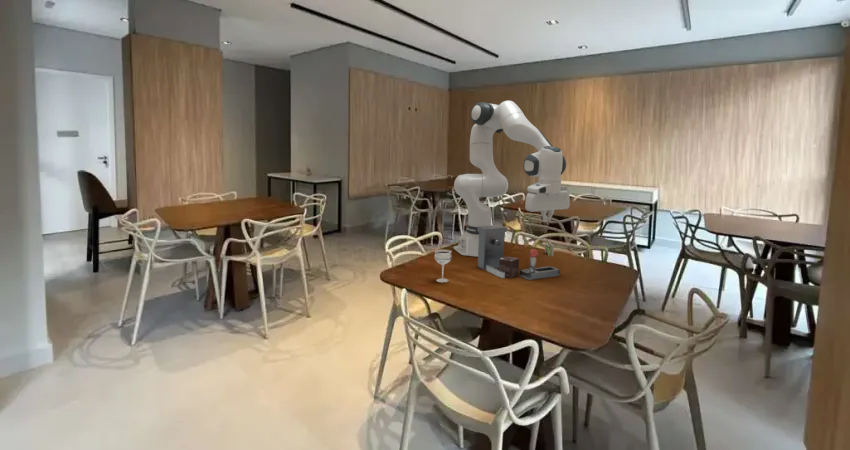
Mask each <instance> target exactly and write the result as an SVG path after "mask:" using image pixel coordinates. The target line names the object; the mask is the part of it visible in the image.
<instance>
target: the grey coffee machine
mask: <svg viewBox="0 0 850 450" xmlns="http://www.w3.org/2000/svg"><path fill="white" fill-rule="evenodd" d="M507 229H508V227H506V226H503V225H499V224H496V225H491V226H481V227H478V230H477V231H478V232H479V246H478V257H477V267H478V268H479V269H481V270H485V271H486V272H487V273H490V274H493V275H494V276H496V277H499V278H501V279H505V278H506V277H505V272H503V271H501V270H499V259H500V258H503V257H505V256H504V255H505V235H506V233H507V231H508V230H507Z"/></svg>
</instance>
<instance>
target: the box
mask: <svg viewBox="0 0 850 450" xmlns="http://www.w3.org/2000/svg"><path fill="white" fill-rule="evenodd" d="M519 268H520V258H518V257H513V256H509V255H506V256H504V257H503V258H500V259H499V268H498V270H501V271H503V272H505V278H508V279H509V278H510V279H512V278H515V277H518V275H519V272H520V270H519Z"/></svg>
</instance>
